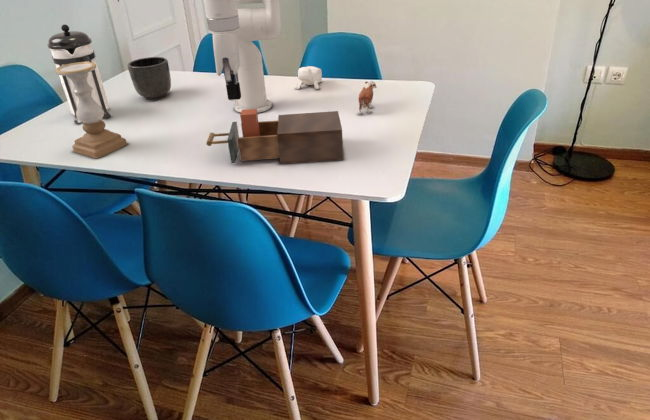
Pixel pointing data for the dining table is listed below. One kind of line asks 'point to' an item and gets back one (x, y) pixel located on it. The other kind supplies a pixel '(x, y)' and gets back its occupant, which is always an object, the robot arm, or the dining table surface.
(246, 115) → the block
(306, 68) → the white lamb toy
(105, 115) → the coffee press
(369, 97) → the bull figurine
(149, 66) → the planter
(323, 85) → the dining table surface
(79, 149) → the candle holder
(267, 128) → the drawer
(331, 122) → the cabinet
